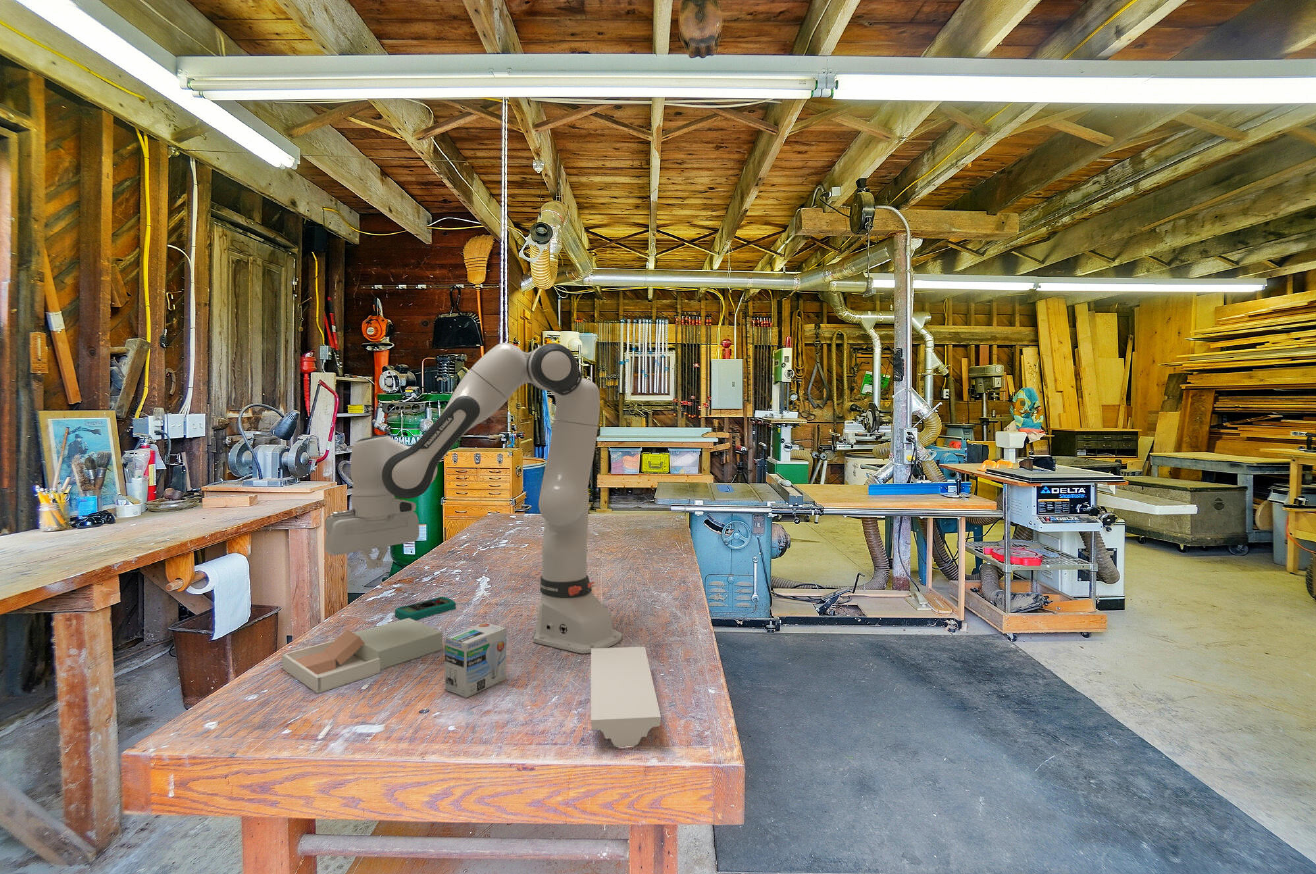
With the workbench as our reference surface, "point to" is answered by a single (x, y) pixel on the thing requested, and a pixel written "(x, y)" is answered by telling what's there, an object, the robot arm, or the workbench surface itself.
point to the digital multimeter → (425, 608)
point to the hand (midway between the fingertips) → (374, 567)
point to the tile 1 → (318, 662)
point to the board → (398, 642)
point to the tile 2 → (344, 646)
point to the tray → (330, 679)
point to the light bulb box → (475, 659)
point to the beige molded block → (622, 695)
